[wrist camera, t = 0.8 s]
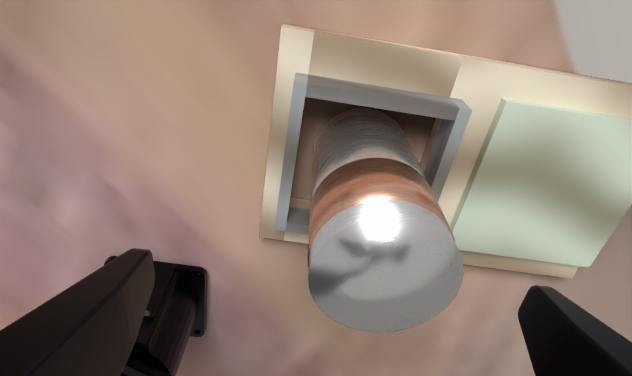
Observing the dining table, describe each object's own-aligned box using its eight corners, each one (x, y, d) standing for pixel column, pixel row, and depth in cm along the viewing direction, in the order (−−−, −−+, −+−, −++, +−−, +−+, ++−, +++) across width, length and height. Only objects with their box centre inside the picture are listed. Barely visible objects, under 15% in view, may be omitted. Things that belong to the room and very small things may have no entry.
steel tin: (393, 199, 23) (436, 340, 15) (305, 186, 23) (297, 324, 14) (419, 115, 21) (489, 228, 12) (320, 99, 20) (320, 204, 12)
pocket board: (563, 267, 26) (586, 297, 24) (261, 227, 25) (255, 254, 22) (675, 90, 20) (719, 107, 18) (283, 23, 19) (277, 32, 16)
